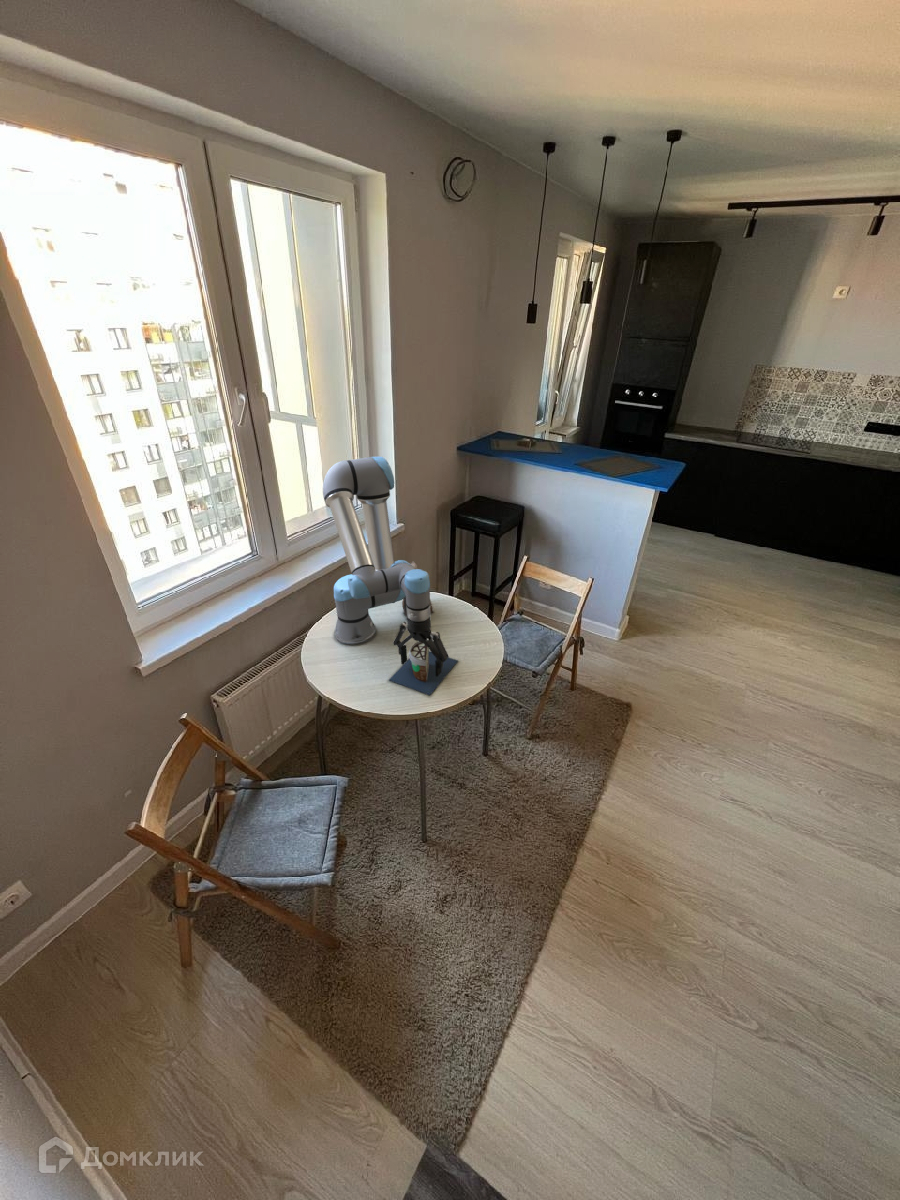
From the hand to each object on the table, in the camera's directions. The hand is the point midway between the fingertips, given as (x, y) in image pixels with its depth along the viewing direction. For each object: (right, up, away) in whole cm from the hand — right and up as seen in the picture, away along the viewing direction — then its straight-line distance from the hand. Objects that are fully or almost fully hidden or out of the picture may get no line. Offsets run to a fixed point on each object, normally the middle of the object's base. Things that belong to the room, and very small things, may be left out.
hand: (421, 668), depth 168 cm
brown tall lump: (-4, +18, +35) cm, 40 cm away
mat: (+1, -1, +3) cm, 3 cm away
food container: (-1, -2, +1) cm, 3 cm away
